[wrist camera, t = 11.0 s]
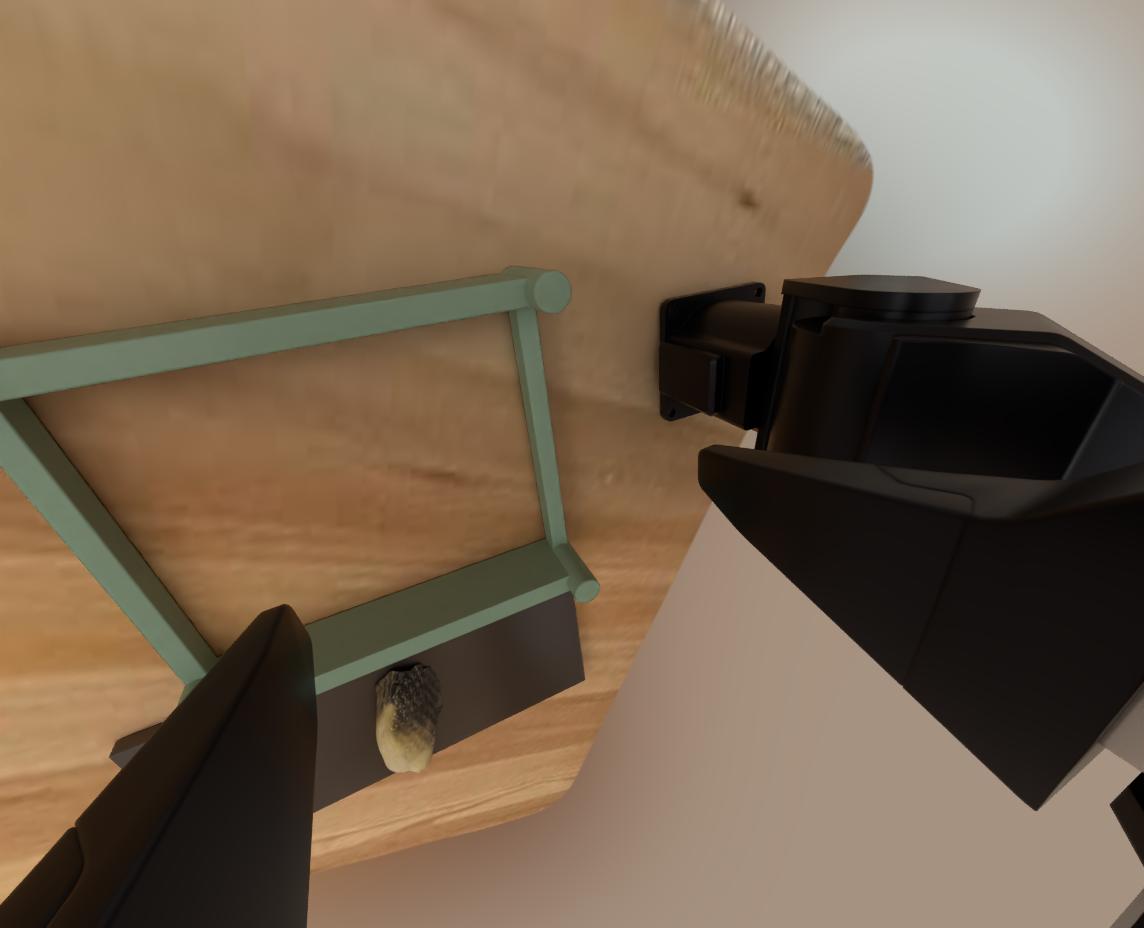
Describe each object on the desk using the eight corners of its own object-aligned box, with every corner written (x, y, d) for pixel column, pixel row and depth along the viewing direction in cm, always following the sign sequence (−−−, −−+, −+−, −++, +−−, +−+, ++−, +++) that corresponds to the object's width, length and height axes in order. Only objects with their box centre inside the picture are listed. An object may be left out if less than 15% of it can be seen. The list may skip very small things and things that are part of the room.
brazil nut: (424, 753, 26) (437, 793, 24) (338, 757, 24) (342, 803, 21) (464, 653, 27) (480, 683, 24) (382, 647, 24) (391, 679, 21)
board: (565, 565, 26) (570, 573, 26) (580, 671, 31) (585, 680, 31) (115, 740, 19) (107, 757, 19) (224, 842, 24) (221, 858, 24)
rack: (526, 263, 18) (570, 267, 15) (566, 547, 26) (601, 596, 22) (-72, 350, 13) (-247, 392, 9) (201, 684, 20) (167, 782, 16)
